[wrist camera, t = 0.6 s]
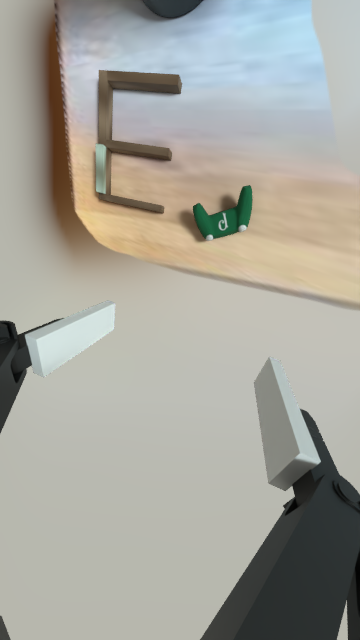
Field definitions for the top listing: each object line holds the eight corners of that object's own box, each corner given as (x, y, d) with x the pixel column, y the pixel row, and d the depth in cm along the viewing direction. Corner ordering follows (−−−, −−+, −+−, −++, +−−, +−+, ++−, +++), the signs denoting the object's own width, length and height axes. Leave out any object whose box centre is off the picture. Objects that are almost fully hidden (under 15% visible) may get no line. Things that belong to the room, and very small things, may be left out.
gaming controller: (195, 208, 31) (201, 243, 33) (191, 204, 27) (198, 243, 30) (249, 188, 28) (252, 228, 30) (251, 182, 24) (255, 227, 26)
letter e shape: (105, 78, 28) (95, 65, 26) (181, 83, 25) (177, 69, 23) (104, 200, 35) (96, 197, 33) (163, 213, 33) (158, 210, 31)
